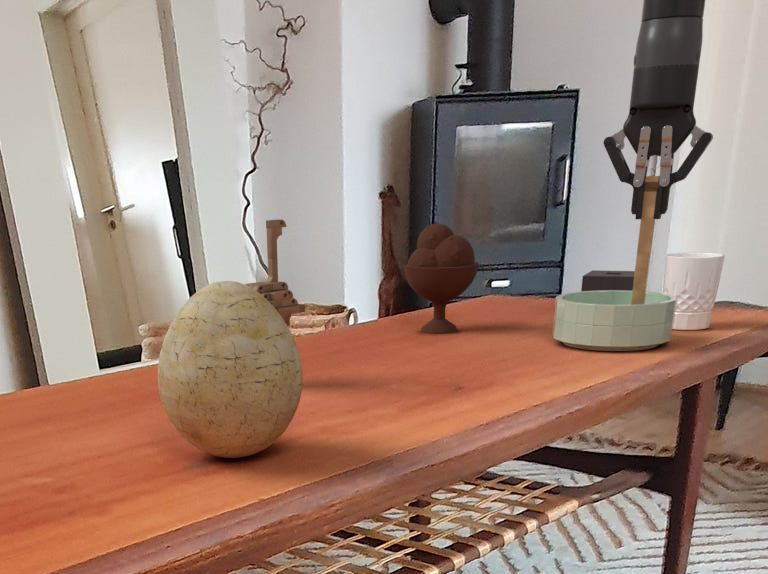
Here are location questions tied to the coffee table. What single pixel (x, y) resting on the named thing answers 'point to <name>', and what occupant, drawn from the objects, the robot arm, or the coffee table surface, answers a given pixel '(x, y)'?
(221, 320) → the fossilized egg
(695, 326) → the white cup
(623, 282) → the utensil holder
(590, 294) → the mixing bowl
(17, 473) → the coffee table surface
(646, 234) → the stirring stick
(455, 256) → the ice cream bowl
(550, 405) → the coffee table surface
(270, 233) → the wooden hook post
